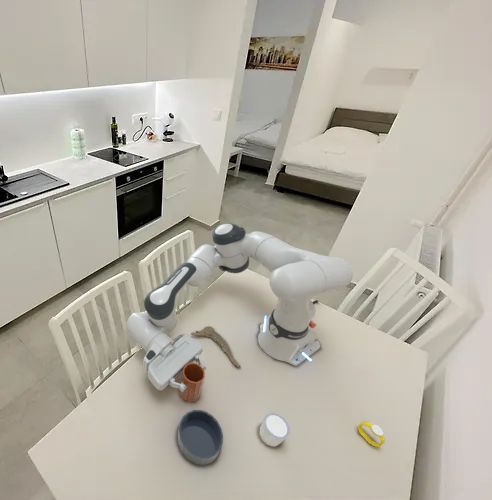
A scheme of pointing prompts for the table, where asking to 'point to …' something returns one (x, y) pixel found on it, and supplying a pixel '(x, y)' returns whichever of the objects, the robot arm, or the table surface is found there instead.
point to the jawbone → (217, 338)
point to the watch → (375, 430)
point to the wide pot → (200, 437)
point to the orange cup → (192, 381)
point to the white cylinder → (274, 429)
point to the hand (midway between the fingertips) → (195, 379)
